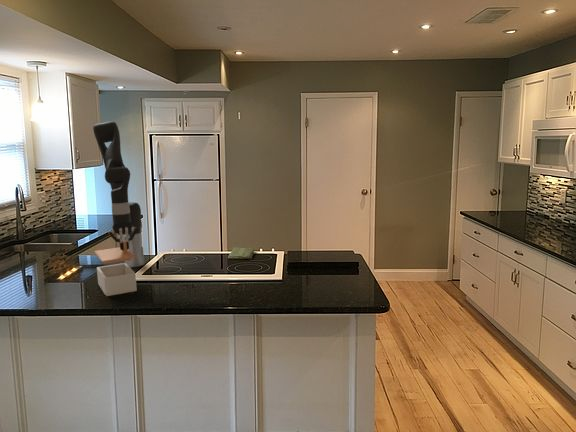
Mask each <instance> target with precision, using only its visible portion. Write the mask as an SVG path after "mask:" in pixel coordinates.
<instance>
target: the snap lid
mask: <svg viewBox="0 0 576 432" xmlns="http://www.w3.org/2000/svg"><path fill="white" fill-rule="evenodd" d="M123 247H124V251H122V250H121V249H120V246H119V247H113V248H107V249H106V248H105V249H98V250H94V254H95V255H96V256H97V258H98V260H100V262H101V263H102V264H107V265H109V264H110V265H111V264H116V263H123V262H125V261H129V260H131V259H133V258H136V257H135V255H134V254H133V253H132V252H131V251H130V250H127V245H126V241H125V240H123Z"/></svg>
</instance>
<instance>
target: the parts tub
mask: <svg viewBox="0 0 576 432" xmlns="http://www.w3.org/2000/svg"><path fill="white" fill-rule="evenodd" d="M96 275H97V284H98V286H99V288H100V289H101V291H102V292H103V294H104V295H106V296H105V297H109V296H115V295H122V294H126V293H131V292H137V291H138V289H137V277H136V272H135V271H134V270H133V269H132V267H129V266H128V265H127V264H126V263H125V262H124V263H123V262H121V263H117V264H116V263H115V264H110V265H109V264H108V265H104V266H103V265H102V266H97V267H96Z"/></svg>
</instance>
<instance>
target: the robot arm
mask: <svg viewBox="0 0 576 432" xmlns="http://www.w3.org/2000/svg"><path fill="white" fill-rule="evenodd" d="M92 130H93V134H94V138H95V140H96V142H97V146H98V148H99V151H100V153H101V157H102V161H103V164H104V168H105V173H104V179H105V181H106V182H107V183H108V184H109V185H110V189H111V191H110V198H111V215H112V223H113V224H112V228H111V229H109V230H108V231H107V233H108V235H109V236H110V237H111V238H112V239H113V240H114V241H115V242H116V243H118V244H119V247H120V249H121V250H122V251H124V247H123V240H125V241H126V245H127V250H130V251H131V252H132V253H133V254H134V255H135V257H136V258H133V259H131V260H129V261H124V263H126V264H127V265H128V266H129V267H130V268H137V267H142V266H145V256H144V247H143V244H142V243H143V242H142V234H141V232H142V231H141V230H142V209H141V206H140V204H139V203H137V202H130V201H129V184H130V180H131V171H130V169H129V168H128V167H127V166H125V164H124V161H123V157H122V156H123V155H122V152H121V150H122V149H121V134H120V130H119V127H118V124H117V123H116V122H115V121H106V122H100V123H96V124H94V125H93V127H92ZM106 143H110V144H109V145H108V147H107V145H106ZM115 234H117V236H118V238H117V236H115Z"/></svg>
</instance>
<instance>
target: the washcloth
mask: <svg viewBox="0 0 576 432" xmlns="http://www.w3.org/2000/svg"><path fill="white" fill-rule="evenodd" d="M254 252H255V249H254V248H253V247H245V248H244V247H233V248H232V250H231V252H230V253H229V254H228V256H227V259H228V260H242V259H244V260H251V259H252V258H253V255H254Z"/></svg>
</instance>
